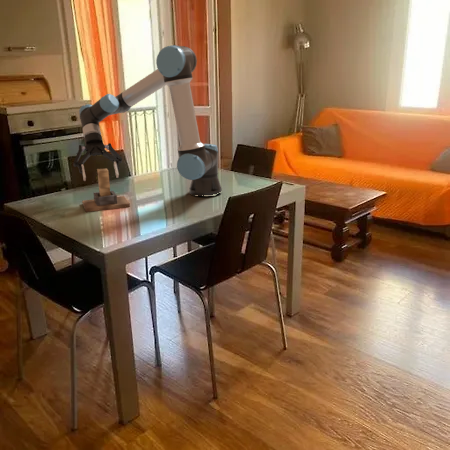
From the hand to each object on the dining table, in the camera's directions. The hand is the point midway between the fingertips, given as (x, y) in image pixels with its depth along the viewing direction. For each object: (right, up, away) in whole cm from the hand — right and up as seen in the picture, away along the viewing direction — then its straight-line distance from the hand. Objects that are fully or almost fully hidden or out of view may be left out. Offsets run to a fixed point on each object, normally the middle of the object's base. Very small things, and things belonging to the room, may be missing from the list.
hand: (101, 177), depth 193 cm
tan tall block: (+1, -10, +2) cm, 10 cm away
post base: (+1, -12, +3) cm, 12 cm away
